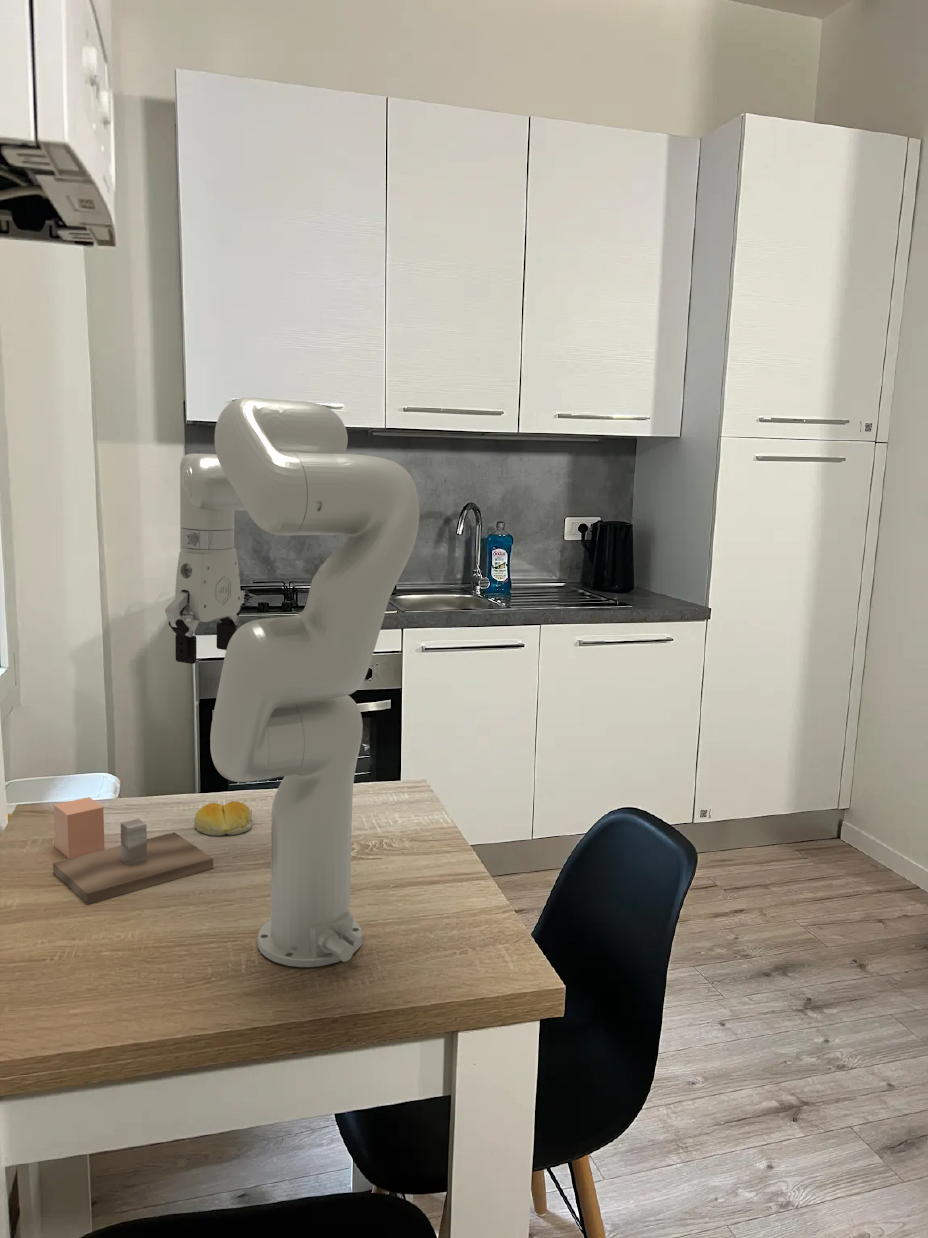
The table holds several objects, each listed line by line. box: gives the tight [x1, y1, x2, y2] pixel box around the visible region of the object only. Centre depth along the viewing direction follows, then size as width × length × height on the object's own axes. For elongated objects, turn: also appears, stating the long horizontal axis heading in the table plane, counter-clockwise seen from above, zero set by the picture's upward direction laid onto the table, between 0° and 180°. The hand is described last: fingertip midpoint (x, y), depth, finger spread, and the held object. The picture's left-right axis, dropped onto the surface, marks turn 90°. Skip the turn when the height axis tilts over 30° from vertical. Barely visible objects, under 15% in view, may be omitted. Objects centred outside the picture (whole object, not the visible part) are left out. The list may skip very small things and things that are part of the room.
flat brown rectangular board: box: [52, 818, 214, 905], centre depth 133 cm, size 12×18×7 cm, turn 133°
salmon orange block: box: [53, 796, 105, 859], centre depth 140 cm, size 5×5×7 cm
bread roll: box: [193, 801, 253, 837], centre depth 151 cm, size 8×9×4 cm
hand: (206, 655), depth 141 cm, fingers open, 9 cm apart
